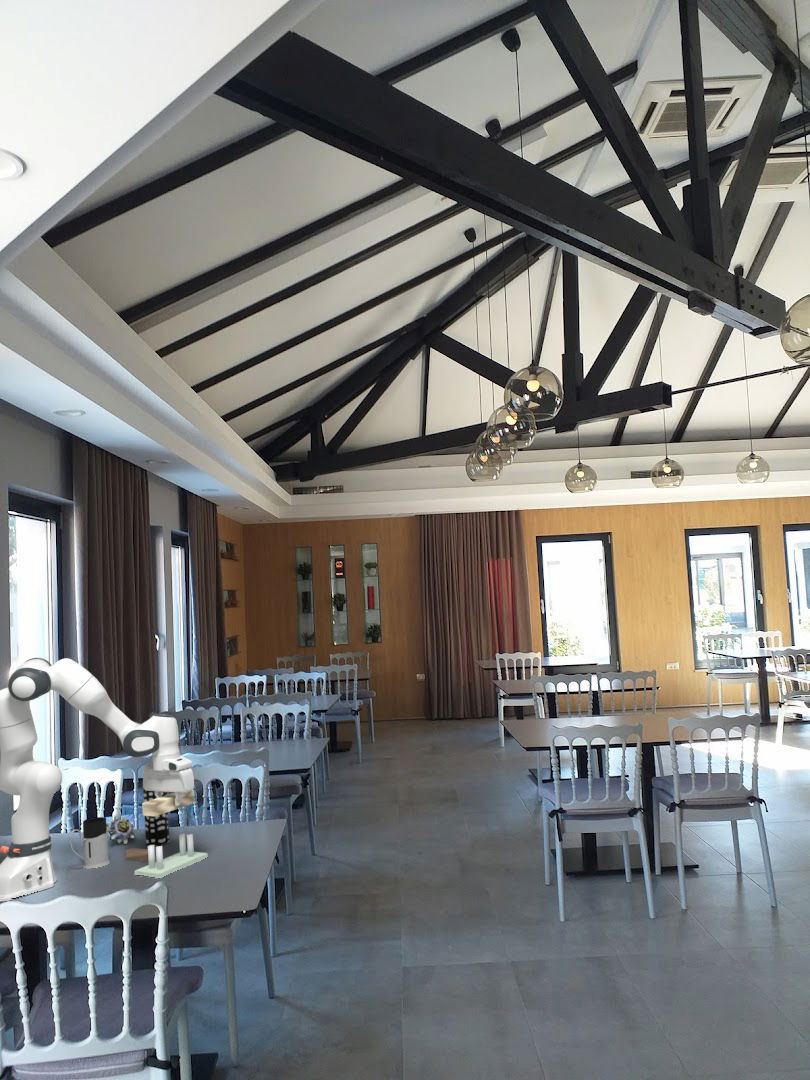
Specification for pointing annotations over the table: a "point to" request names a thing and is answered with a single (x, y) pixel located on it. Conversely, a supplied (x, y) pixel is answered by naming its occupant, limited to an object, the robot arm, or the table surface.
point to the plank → (166, 804)
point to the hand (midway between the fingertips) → (169, 804)
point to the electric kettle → (94, 843)
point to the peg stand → (171, 859)
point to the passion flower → (121, 830)
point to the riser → (137, 854)
